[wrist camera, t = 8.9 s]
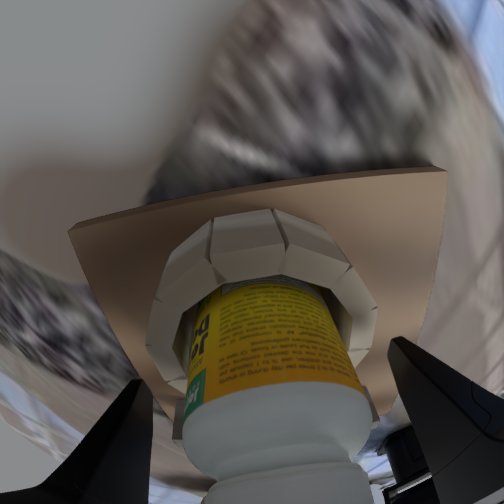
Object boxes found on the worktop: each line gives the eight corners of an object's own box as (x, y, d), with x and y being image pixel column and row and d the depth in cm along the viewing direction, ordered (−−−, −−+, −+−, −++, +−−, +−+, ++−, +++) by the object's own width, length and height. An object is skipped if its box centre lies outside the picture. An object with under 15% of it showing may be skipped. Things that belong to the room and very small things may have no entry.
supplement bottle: (311, 341, 14) (363, 521, 5) (205, 348, 14) (199, 540, 5) (323, 245, 11) (447, 473, 3) (191, 252, 11) (141, 519, 3)
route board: (385, 404, 20) (400, 439, 17) (194, 438, 20) (192, 477, 17) (435, 166, 11) (493, 191, 8) (77, 222, 11) (31, 266, 8)
